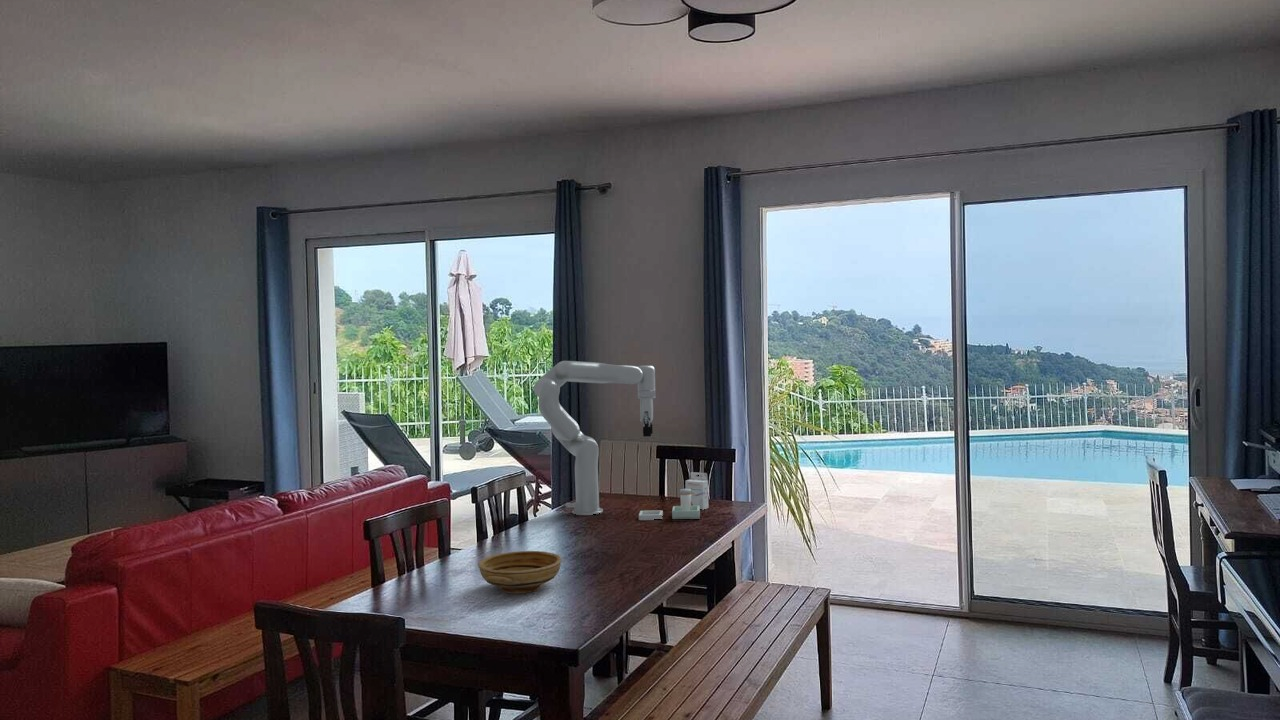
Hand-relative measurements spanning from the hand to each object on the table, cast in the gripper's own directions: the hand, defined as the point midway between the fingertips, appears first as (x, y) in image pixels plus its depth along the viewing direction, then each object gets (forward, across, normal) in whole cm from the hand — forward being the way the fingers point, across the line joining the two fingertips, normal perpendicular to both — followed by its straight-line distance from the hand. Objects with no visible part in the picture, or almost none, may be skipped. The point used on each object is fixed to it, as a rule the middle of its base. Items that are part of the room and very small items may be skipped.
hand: (648, 435), depth 373 cm
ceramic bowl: (+31, +121, -29) cm, 128 cm away
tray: (+30, +24, +16) cm, 42 cm away
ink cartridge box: (+31, +6, +20) cm, 37 cm away
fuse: (+29, +24, +16) cm, 41 cm away
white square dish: (+30, +24, +2) cm, 39 cm away
